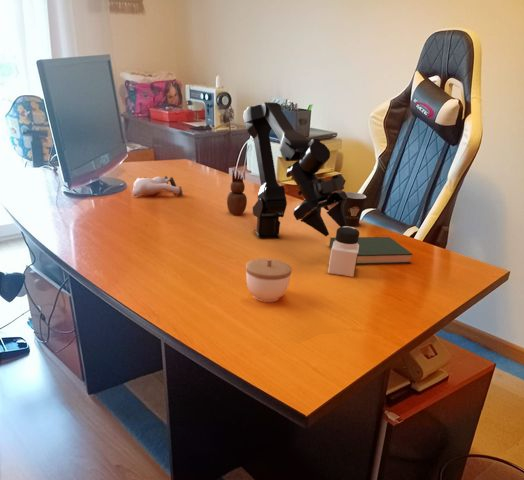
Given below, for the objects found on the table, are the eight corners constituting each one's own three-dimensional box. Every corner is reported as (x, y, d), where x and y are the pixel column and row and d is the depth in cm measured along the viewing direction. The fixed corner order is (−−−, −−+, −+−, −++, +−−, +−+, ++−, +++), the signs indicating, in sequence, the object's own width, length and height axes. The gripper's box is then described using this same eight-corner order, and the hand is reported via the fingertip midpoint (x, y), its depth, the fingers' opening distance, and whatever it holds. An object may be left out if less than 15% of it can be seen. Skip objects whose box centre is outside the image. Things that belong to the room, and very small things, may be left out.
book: (347, 265, 148) (349, 255, 146) (329, 246, 160) (330, 237, 158) (410, 263, 153) (412, 253, 151) (387, 245, 165) (389, 236, 164)
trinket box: (267, 284, 132) (270, 248, 127) (297, 299, 125) (301, 262, 120) (235, 294, 125) (236, 257, 120) (265, 310, 119) (268, 272, 114)
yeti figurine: (157, 188, 211) (115, 194, 197) (156, 171, 208) (113, 176, 194) (189, 195, 200) (148, 202, 186) (189, 176, 196) (146, 182, 183)
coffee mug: (363, 222, 185) (368, 194, 180) (359, 229, 178) (364, 200, 173) (331, 217, 188) (335, 189, 183) (326, 223, 181) (330, 194, 176)
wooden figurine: (224, 214, 181) (225, 169, 174) (230, 210, 186) (232, 167, 179) (241, 217, 180) (244, 173, 172) (248, 213, 184) (250, 170, 177)
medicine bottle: (353, 277, 140) (361, 234, 134) (327, 273, 141) (334, 230, 135) (355, 268, 146) (362, 226, 140) (329, 264, 147) (336, 223, 141)
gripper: (308, 167, 128) (339, 222, 128) (346, 160, 141) (375, 210, 141) (279, 193, 136) (309, 245, 136) (318, 184, 149) (346, 231, 149)
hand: (336, 231), depth 140 cm, fingers open, 9 cm apart
